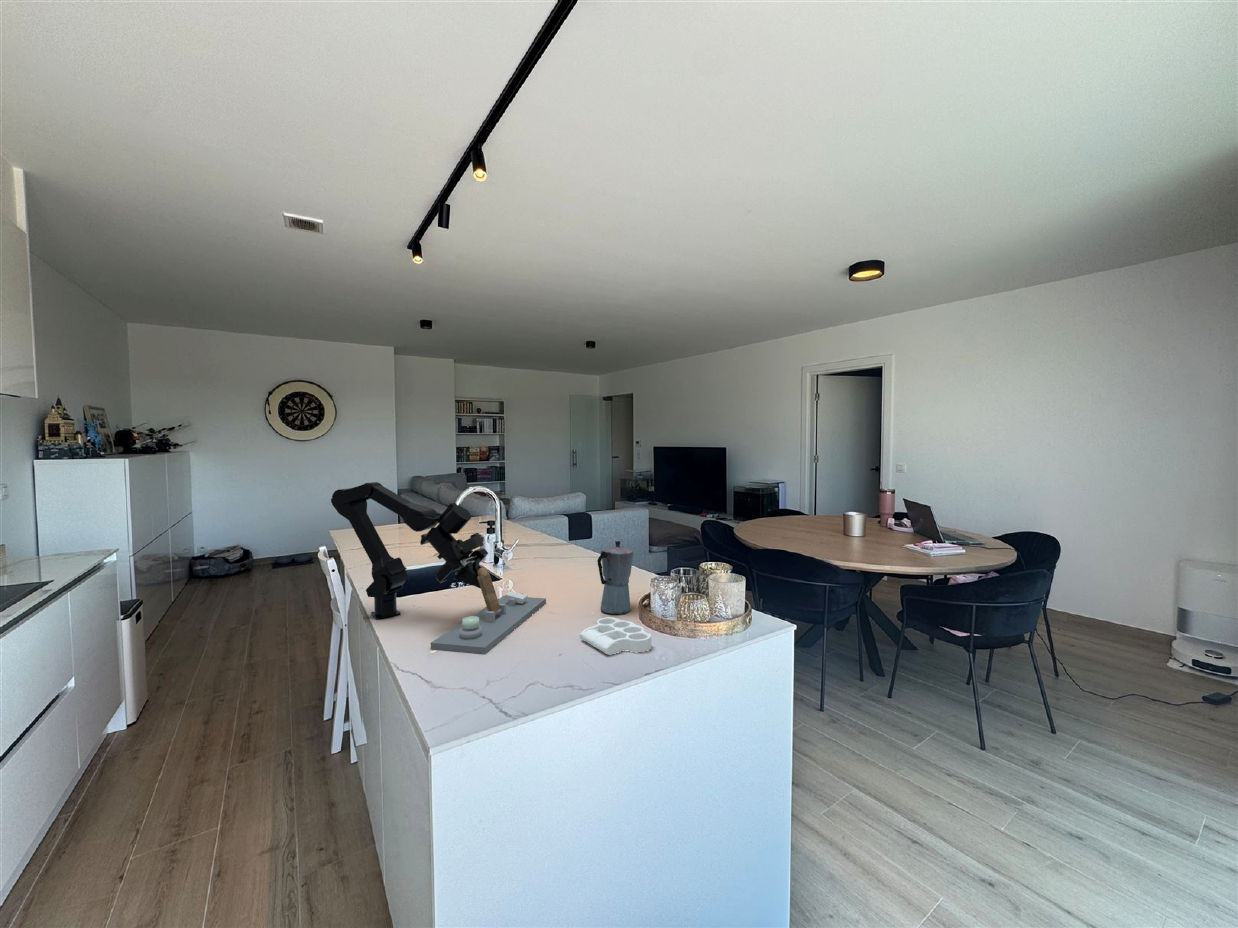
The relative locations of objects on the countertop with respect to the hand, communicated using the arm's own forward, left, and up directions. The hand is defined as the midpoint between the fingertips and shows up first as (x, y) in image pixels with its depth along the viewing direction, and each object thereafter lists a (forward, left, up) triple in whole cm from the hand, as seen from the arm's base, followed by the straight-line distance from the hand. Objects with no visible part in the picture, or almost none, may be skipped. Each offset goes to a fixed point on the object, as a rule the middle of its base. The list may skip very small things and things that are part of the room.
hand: (483, 587), depth 134 cm
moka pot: (+16, +33, -10) cm, 38 cm away
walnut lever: (+3, +2, -7) cm, 8 cm away
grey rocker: (-5, +12, -7) cm, 15 cm away
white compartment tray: (+34, +19, -10) cm, 40 cm away
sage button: (+11, -8, -6) cm, 15 cm away
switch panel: (+3, +2, -10) cm, 10 cm away
